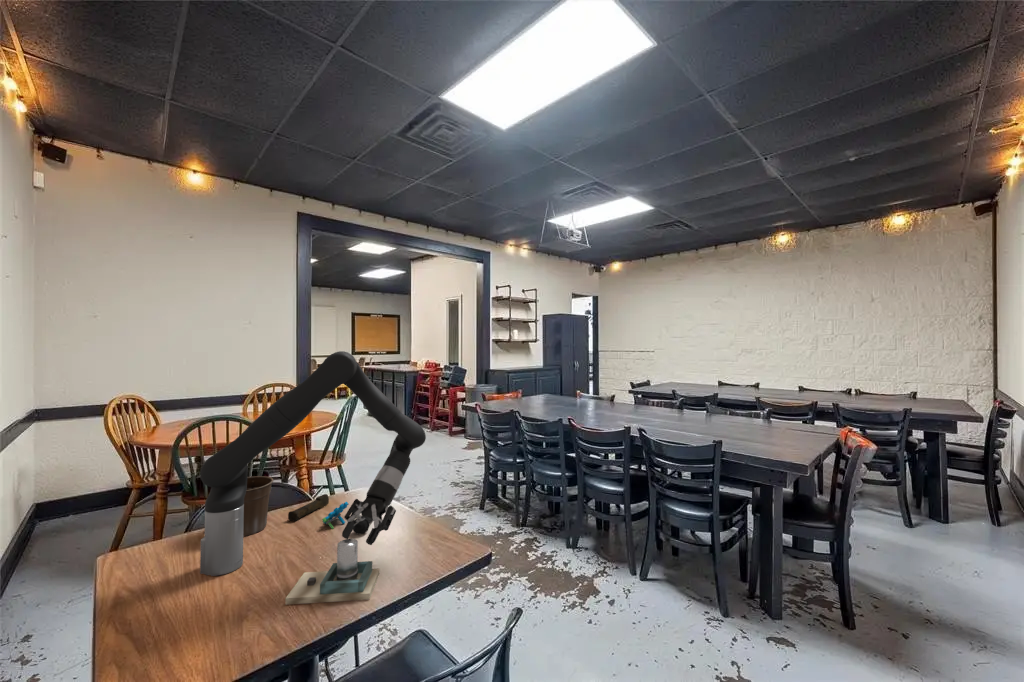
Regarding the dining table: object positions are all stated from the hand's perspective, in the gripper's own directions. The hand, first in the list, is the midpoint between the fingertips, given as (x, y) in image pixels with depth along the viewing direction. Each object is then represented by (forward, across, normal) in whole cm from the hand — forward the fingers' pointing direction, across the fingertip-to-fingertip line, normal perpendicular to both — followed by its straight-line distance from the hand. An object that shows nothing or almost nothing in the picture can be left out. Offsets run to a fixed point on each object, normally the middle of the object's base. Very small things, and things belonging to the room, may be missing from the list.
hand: (356, 540), depth 112 cm
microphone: (-13, -23, +29) cm, 40 cm away
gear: (-10, -35, +26) cm, 45 cm away
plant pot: (+2, -59, +14) cm, 61 cm away
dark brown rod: (-13, -52, +29) cm, 61 cm away
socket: (+9, 0, +5) cm, 10 cm away
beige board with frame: (+11, -3, +5) cm, 12 cm away
